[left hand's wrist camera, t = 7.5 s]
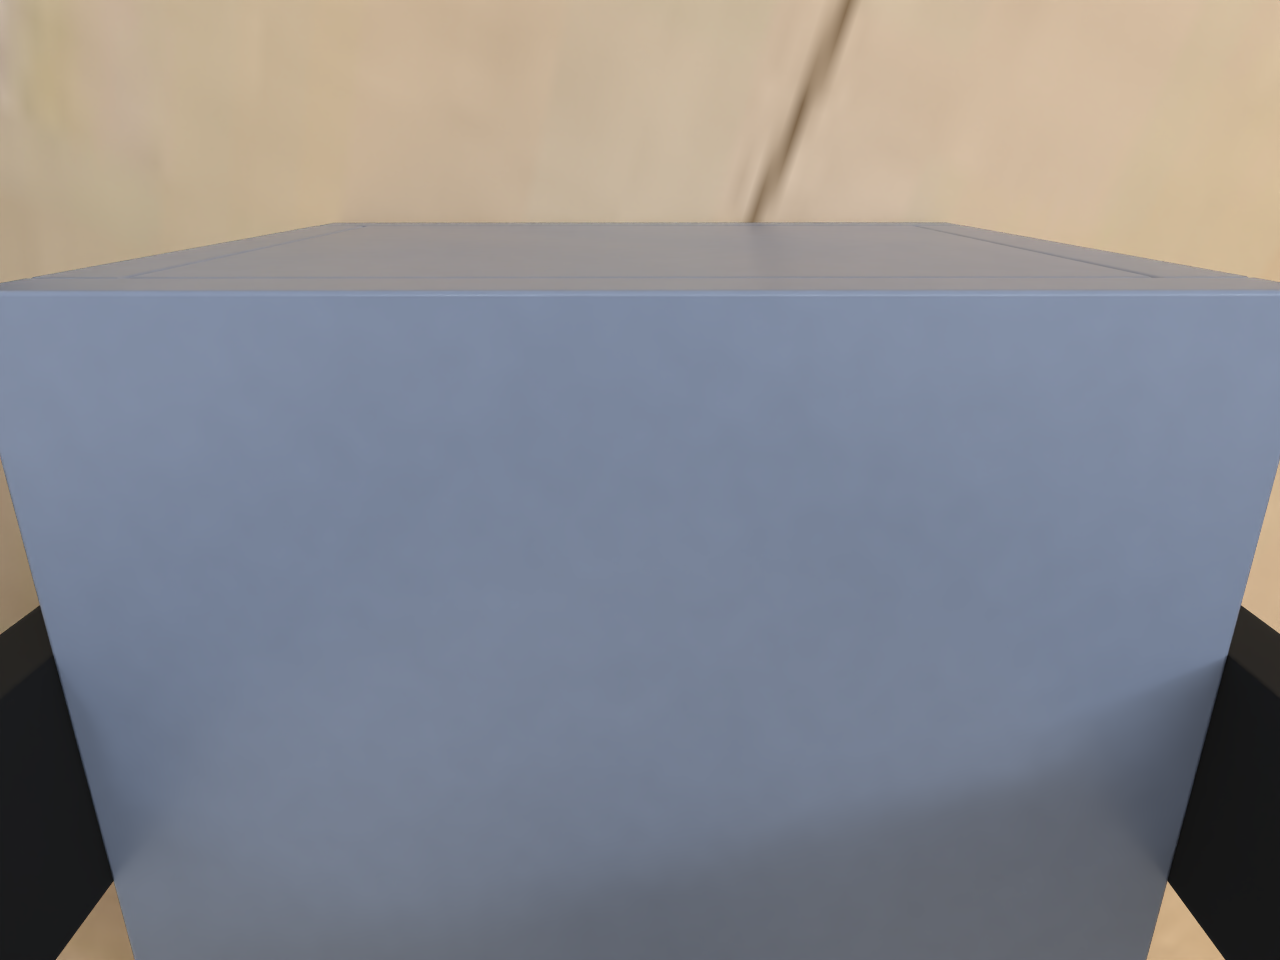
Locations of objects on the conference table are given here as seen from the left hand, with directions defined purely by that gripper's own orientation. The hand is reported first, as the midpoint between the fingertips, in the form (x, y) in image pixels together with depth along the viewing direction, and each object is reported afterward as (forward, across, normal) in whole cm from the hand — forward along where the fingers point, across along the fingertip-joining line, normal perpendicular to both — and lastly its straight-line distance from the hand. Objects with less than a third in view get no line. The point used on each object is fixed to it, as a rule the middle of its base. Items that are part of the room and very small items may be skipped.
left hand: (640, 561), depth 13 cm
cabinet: (+4, 0, -4) cm, 6 cm away
